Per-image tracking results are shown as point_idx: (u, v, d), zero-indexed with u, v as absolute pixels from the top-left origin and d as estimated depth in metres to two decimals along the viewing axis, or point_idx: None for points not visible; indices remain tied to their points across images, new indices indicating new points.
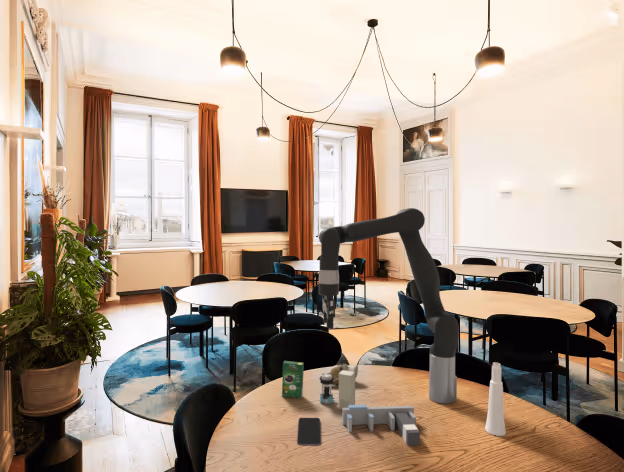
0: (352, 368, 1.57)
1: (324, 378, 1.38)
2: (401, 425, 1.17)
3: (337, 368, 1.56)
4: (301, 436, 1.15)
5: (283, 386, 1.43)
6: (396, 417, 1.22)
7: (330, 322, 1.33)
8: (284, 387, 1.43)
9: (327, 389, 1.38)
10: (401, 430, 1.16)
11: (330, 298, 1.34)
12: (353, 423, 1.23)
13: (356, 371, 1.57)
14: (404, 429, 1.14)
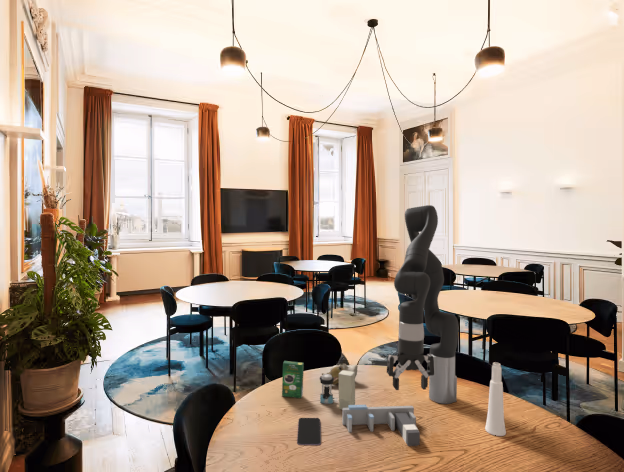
0: (351, 368, 1.57)
1: (324, 378, 1.38)
2: (401, 425, 1.17)
3: (337, 368, 1.56)
4: (301, 436, 1.15)
5: (283, 386, 1.43)
6: (396, 417, 1.22)
7: None
8: (284, 387, 1.43)
9: (327, 389, 1.38)
10: (401, 431, 1.16)
11: None
12: (353, 423, 1.23)
13: (355, 371, 1.57)
14: (404, 429, 1.14)
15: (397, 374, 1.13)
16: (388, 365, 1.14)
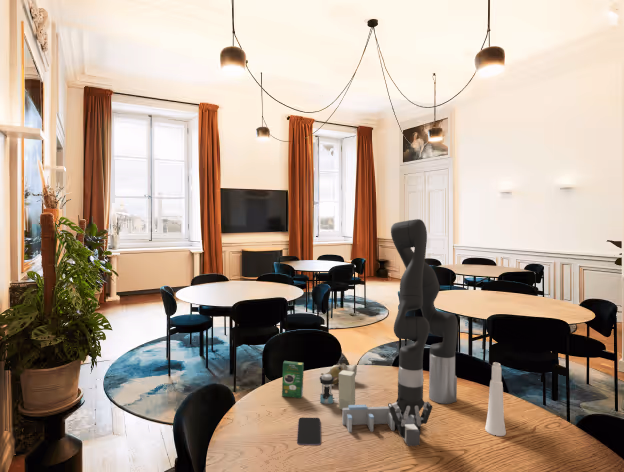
0: (351, 368, 1.58)
1: (324, 378, 1.38)
2: None
3: (336, 368, 1.56)
4: (301, 436, 1.15)
5: (283, 386, 1.43)
6: None
7: None
8: (284, 387, 1.43)
9: (327, 389, 1.38)
10: None
11: None
12: (353, 423, 1.23)
13: (355, 371, 1.57)
14: None
15: (403, 422, 1.13)
16: (391, 415, 1.14)
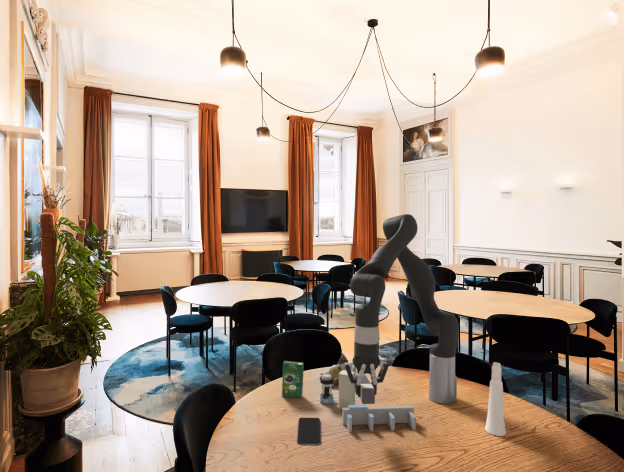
0: None
1: (324, 378, 1.38)
2: None
3: (336, 368, 1.56)
4: (301, 436, 1.15)
5: (283, 386, 1.43)
6: None
7: None
8: (284, 387, 1.43)
9: (327, 389, 1.38)
10: None
11: None
12: (353, 423, 1.23)
13: (354, 370, 1.57)
14: None
15: (358, 381, 1.12)
16: (347, 373, 1.13)
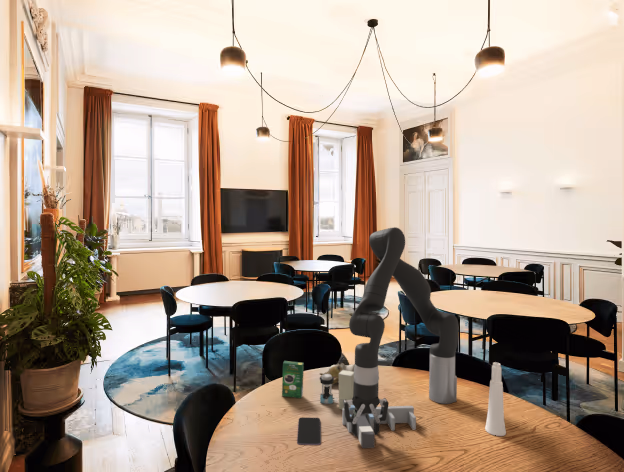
0: (350, 367, 1.58)
1: (324, 378, 1.38)
2: (357, 427, 1.15)
3: (335, 368, 1.56)
4: (301, 436, 1.15)
5: (283, 386, 1.43)
6: None
7: None
8: (284, 387, 1.43)
9: (327, 389, 1.38)
10: (358, 432, 1.15)
11: None
12: None
13: None
14: (359, 431, 1.13)
15: (354, 420, 1.12)
16: (344, 411, 1.13)
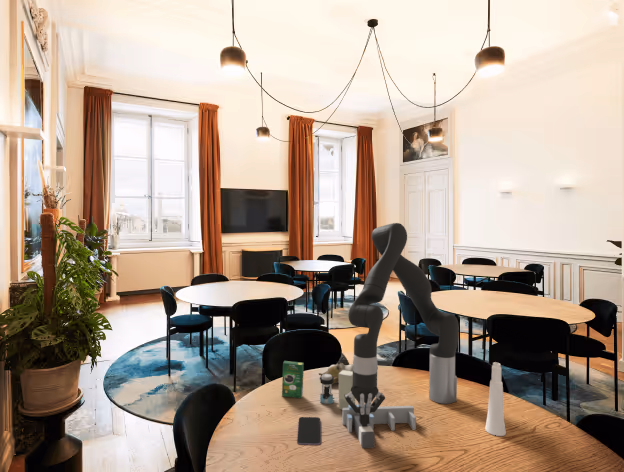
0: (349, 367, 1.58)
1: (324, 378, 1.38)
2: (357, 427, 1.15)
3: (334, 367, 1.57)
4: (301, 435, 1.15)
5: (283, 386, 1.43)
6: (354, 419, 1.20)
7: None
8: (284, 387, 1.43)
9: (327, 389, 1.38)
10: (358, 432, 1.15)
11: None
12: (353, 423, 1.23)
13: None
14: (360, 431, 1.13)
15: (361, 410, 1.14)
16: (350, 404, 1.14)
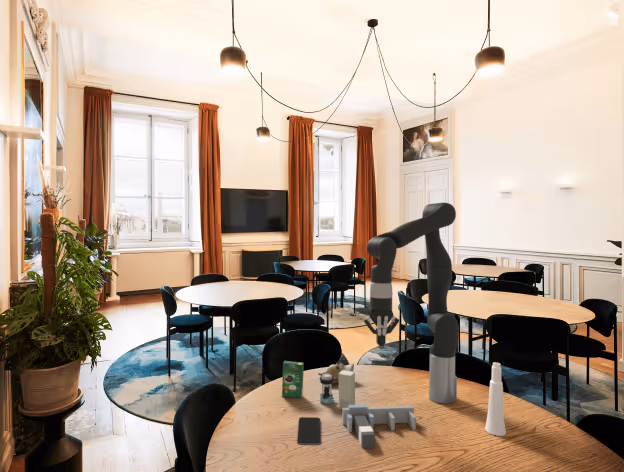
0: (348, 367, 1.58)
1: (324, 378, 1.38)
2: (357, 427, 1.15)
3: (334, 367, 1.57)
4: (301, 435, 1.15)
5: (283, 386, 1.43)
6: (354, 419, 1.20)
7: None
8: (284, 387, 1.43)
9: (327, 389, 1.38)
10: (358, 432, 1.15)
11: None
12: (353, 423, 1.23)
13: (352, 370, 1.58)
14: (359, 431, 1.13)
15: (379, 332, 1.27)
16: (368, 327, 1.28)
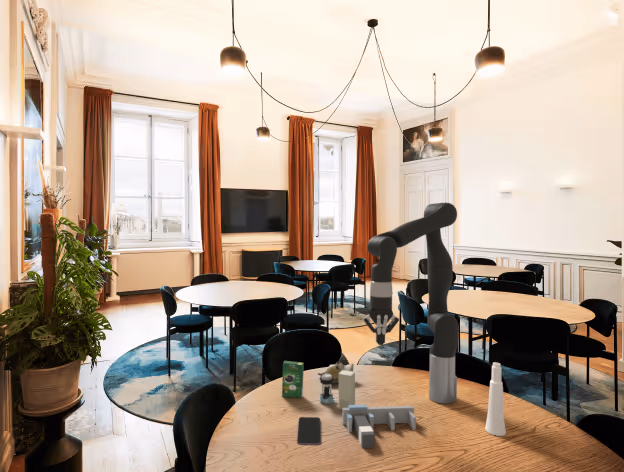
0: (348, 367, 1.59)
1: (324, 378, 1.38)
2: (357, 427, 1.15)
3: (333, 367, 1.57)
4: (301, 435, 1.15)
5: (283, 386, 1.43)
6: (354, 419, 1.20)
7: None
8: (284, 387, 1.43)
9: (327, 389, 1.38)
10: (358, 432, 1.15)
11: None
12: (353, 423, 1.23)
13: (352, 370, 1.58)
14: (359, 431, 1.13)
15: (378, 331, 1.27)
16: None
